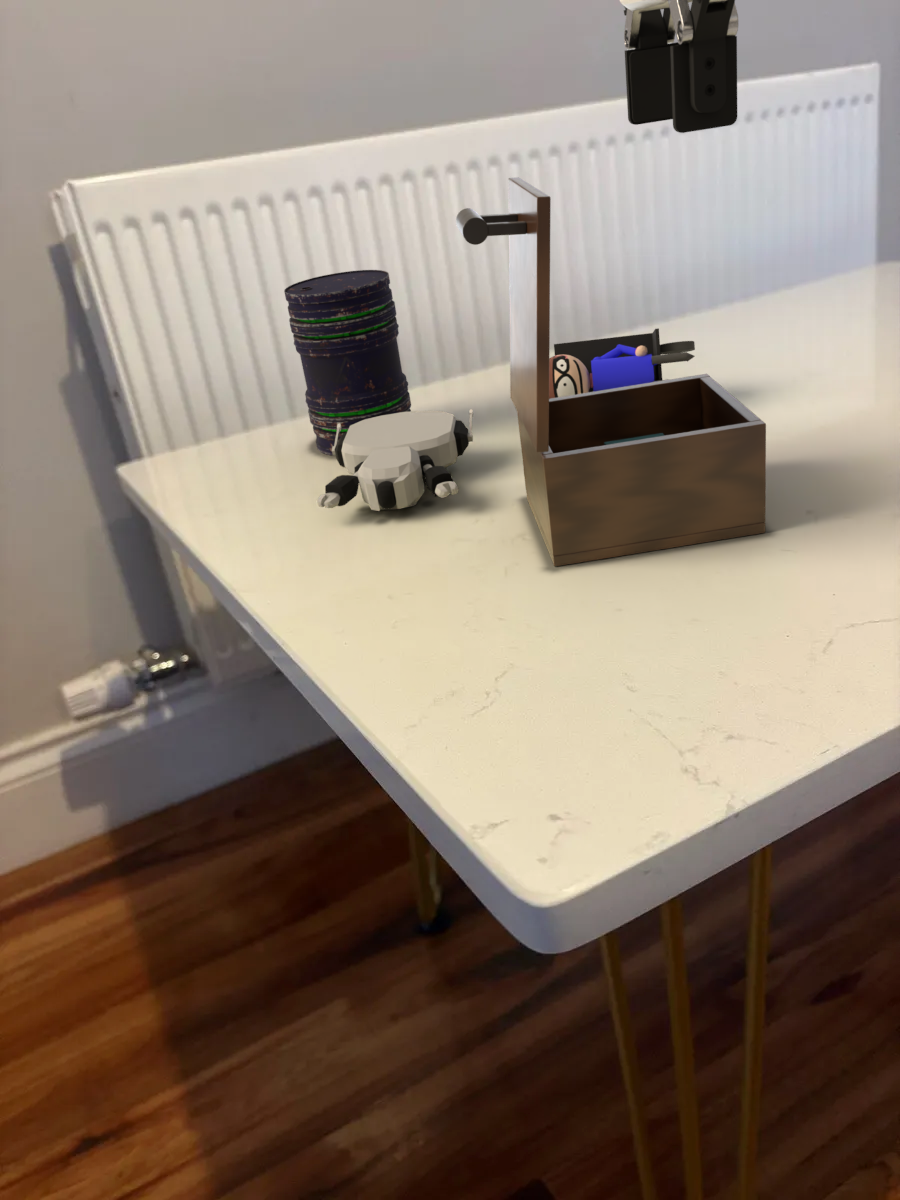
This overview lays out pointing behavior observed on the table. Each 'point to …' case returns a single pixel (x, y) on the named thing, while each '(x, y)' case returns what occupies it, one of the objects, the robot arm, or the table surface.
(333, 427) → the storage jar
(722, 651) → the table surface
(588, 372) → the character figurine
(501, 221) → the lid
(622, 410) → the box
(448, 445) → the robot toy
